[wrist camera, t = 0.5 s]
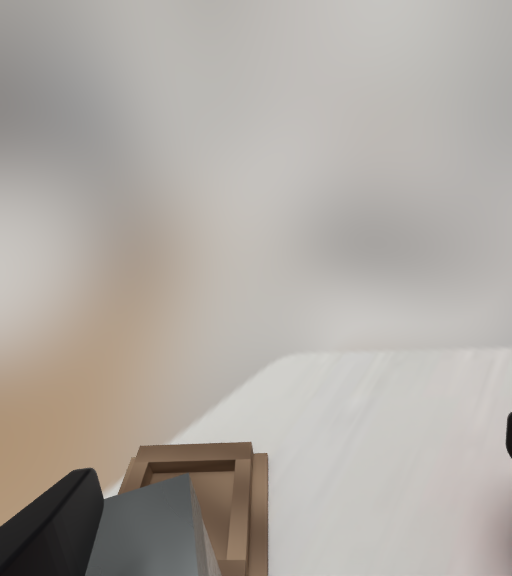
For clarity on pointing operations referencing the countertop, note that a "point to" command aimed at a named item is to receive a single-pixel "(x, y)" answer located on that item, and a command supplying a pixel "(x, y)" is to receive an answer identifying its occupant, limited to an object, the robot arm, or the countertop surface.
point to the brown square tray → (217, 496)
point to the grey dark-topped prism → (153, 533)
